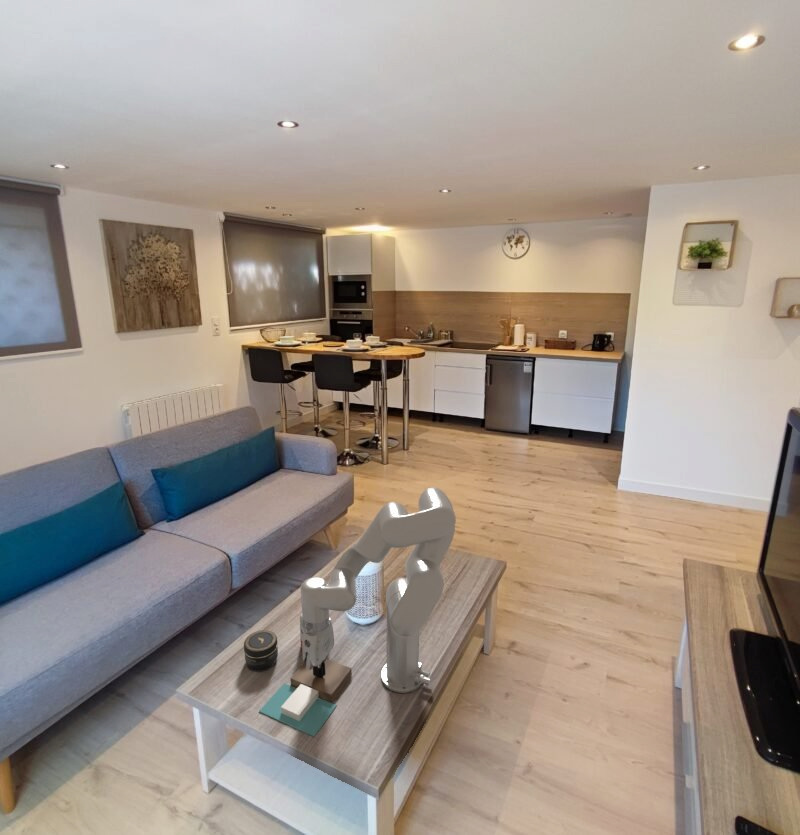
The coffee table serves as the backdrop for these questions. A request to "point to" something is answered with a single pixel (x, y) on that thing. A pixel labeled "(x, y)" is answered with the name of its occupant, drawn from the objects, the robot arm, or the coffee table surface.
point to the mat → (309, 721)
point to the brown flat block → (323, 679)
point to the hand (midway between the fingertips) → (319, 674)
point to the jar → (261, 650)
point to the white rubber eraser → (299, 702)
